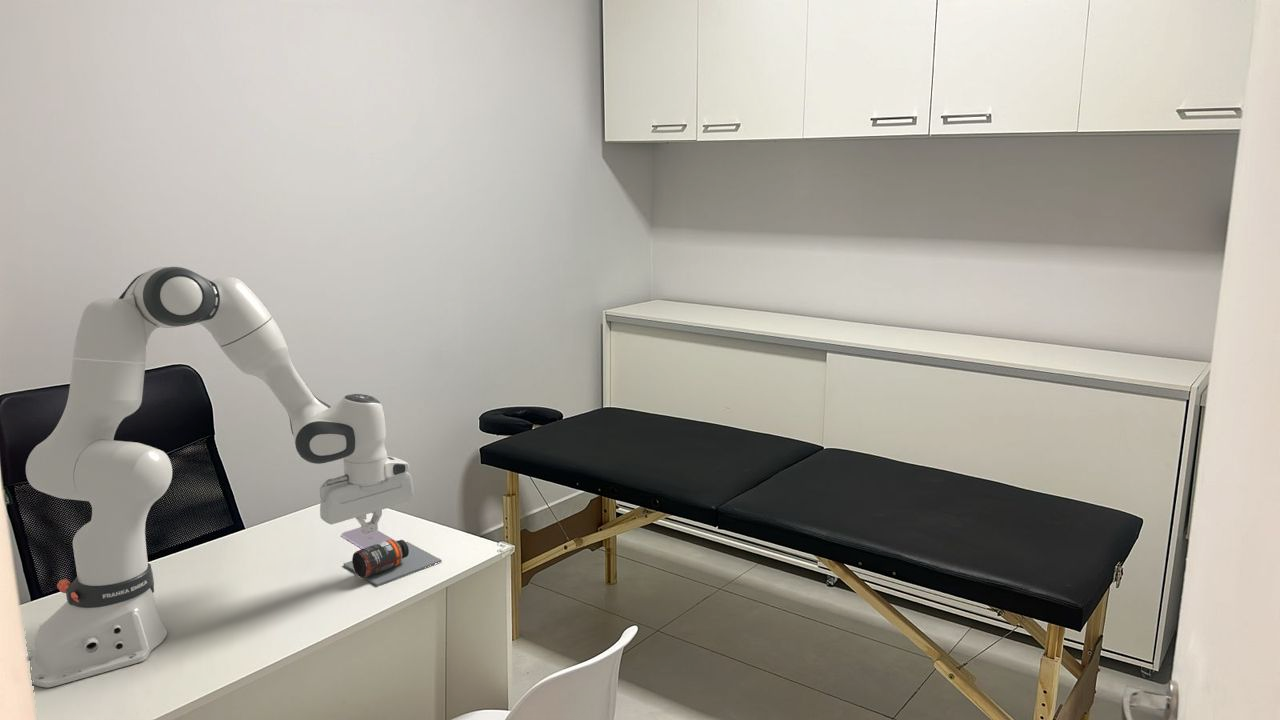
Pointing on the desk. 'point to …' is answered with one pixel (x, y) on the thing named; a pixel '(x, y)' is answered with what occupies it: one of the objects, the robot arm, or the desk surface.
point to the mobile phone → (365, 537)
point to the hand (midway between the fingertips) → (369, 531)
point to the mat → (401, 566)
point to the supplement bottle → (379, 557)
